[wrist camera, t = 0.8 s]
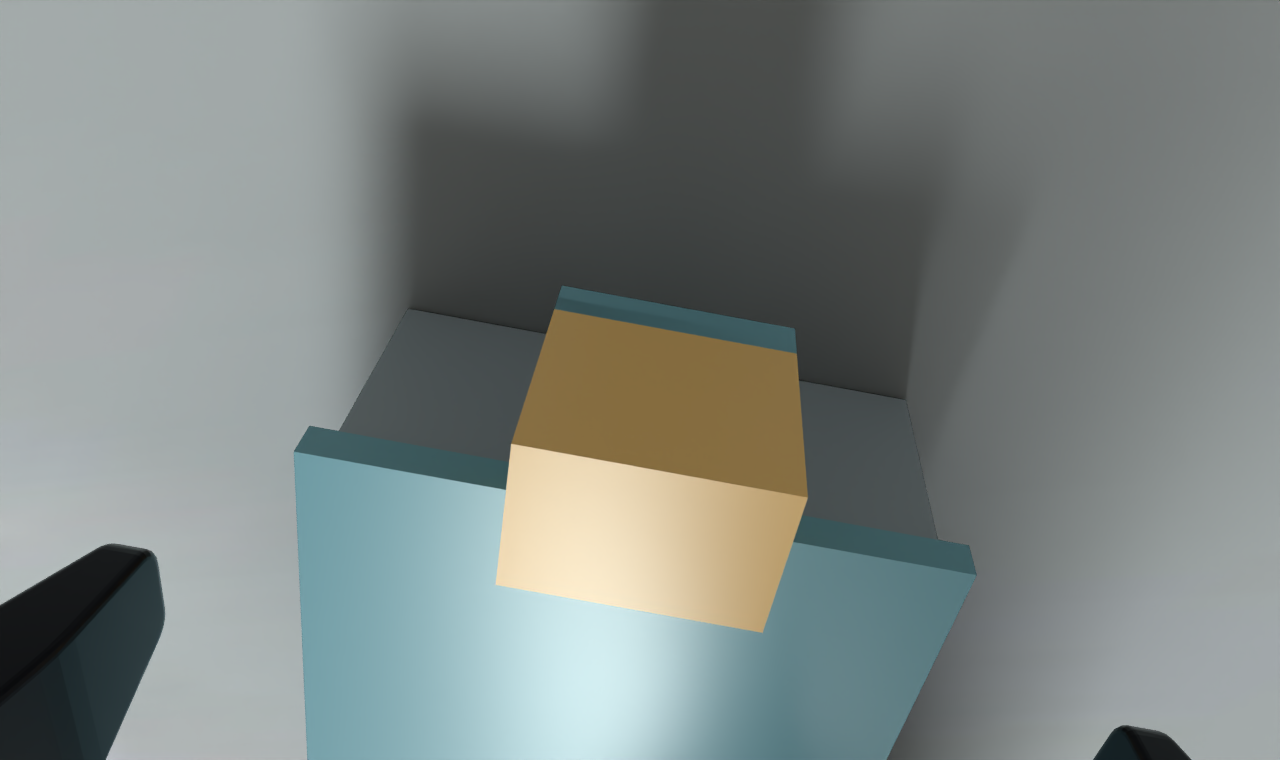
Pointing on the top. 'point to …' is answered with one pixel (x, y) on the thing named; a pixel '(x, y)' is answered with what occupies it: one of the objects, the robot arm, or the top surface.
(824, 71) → the top surface
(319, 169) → the top surface
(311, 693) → the lid
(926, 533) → the tub
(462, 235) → the top surface
